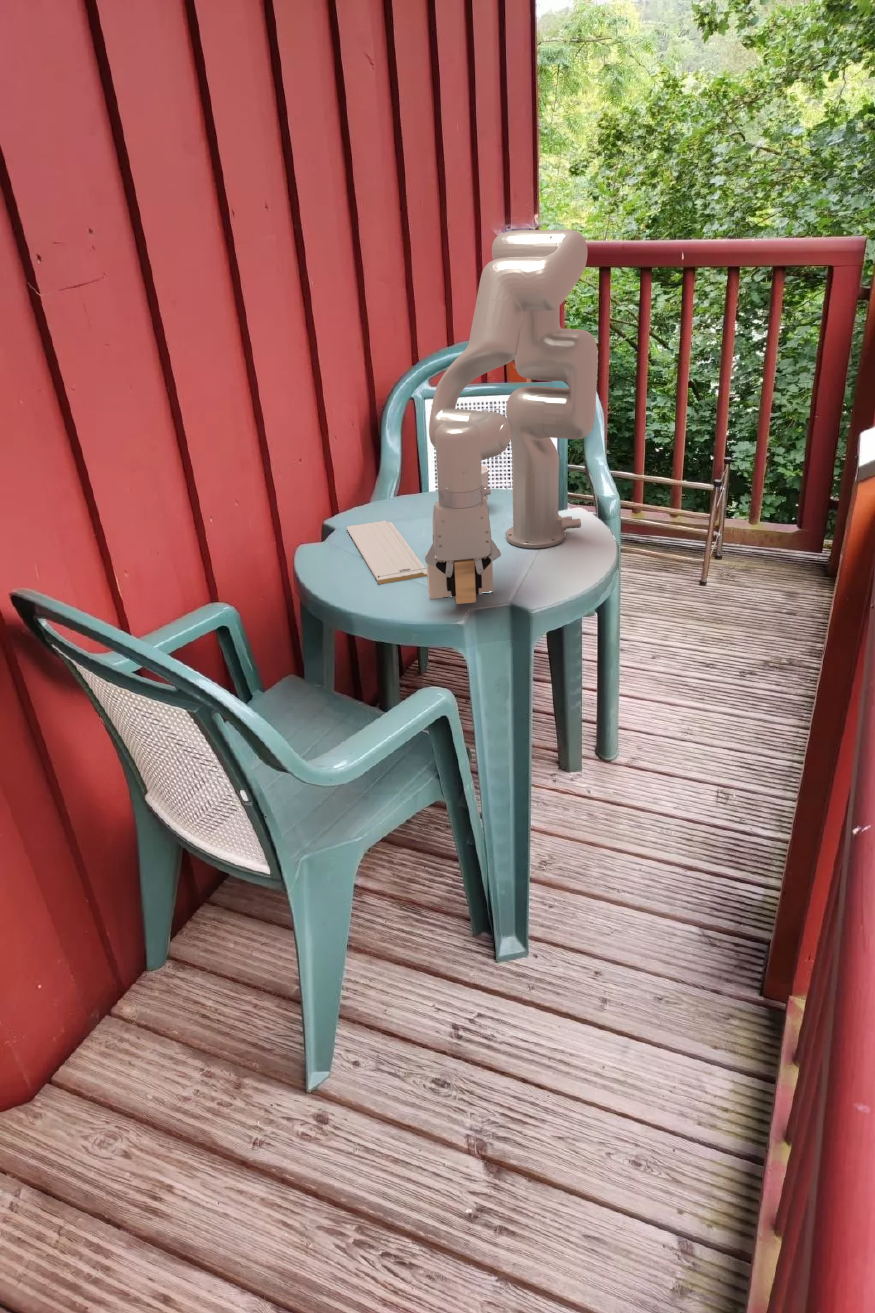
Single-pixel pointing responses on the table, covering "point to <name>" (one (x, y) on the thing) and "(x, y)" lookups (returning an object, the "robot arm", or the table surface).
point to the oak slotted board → (464, 581)
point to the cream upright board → (439, 585)
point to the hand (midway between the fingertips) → (464, 591)
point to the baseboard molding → (386, 552)
